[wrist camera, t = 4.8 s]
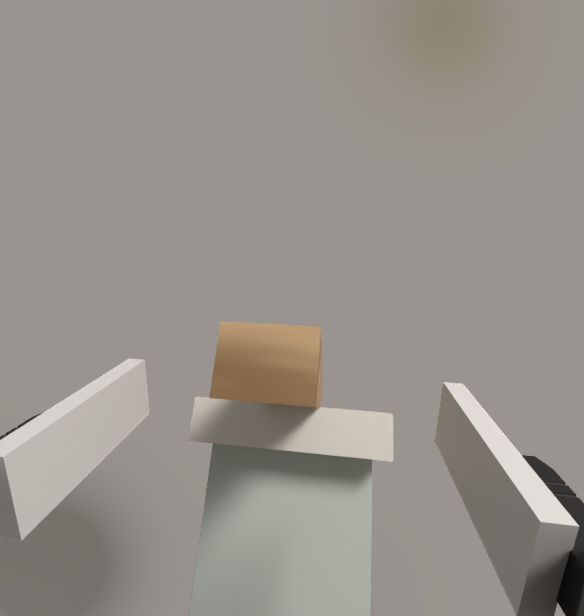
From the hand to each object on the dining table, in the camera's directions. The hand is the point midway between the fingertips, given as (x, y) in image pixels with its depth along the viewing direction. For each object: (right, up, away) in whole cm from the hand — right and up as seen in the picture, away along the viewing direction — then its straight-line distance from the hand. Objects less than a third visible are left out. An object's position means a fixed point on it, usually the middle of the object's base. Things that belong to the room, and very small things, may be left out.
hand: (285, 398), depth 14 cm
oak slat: (+1, -4, +12) cm, 13 cm away
